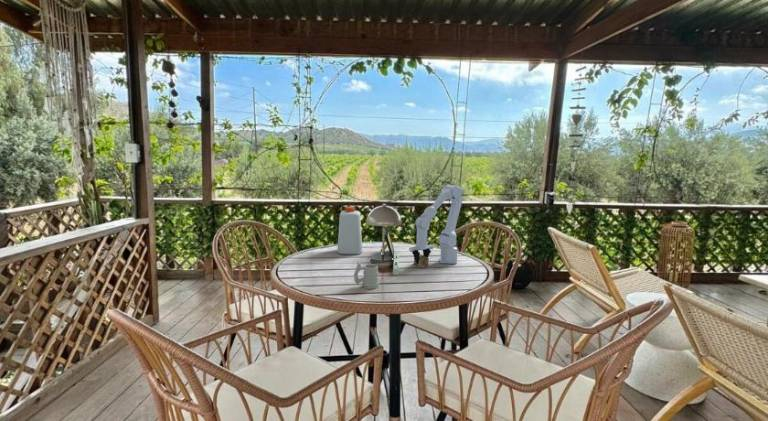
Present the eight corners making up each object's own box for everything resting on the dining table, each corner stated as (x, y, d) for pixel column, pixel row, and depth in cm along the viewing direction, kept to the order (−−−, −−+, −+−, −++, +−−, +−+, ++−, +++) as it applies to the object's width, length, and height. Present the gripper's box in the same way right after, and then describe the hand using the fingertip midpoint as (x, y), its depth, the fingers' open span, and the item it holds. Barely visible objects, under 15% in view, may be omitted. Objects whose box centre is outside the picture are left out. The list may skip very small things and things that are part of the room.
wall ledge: (398, 260, 218) (398, 252, 218) (397, 274, 193) (398, 266, 192) (394, 259, 219) (394, 252, 218) (393, 274, 193) (393, 266, 192)
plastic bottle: (362, 248, 242) (362, 205, 237) (362, 255, 227) (362, 209, 223) (338, 248, 241) (338, 205, 237) (336, 255, 226) (336, 209, 222)
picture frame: (394, 260, 217) (391, 235, 214) (378, 262, 217) (375, 236, 215) (393, 249, 239) (391, 227, 237) (379, 251, 240) (377, 228, 237)
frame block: (420, 262, 214) (420, 254, 213) (428, 266, 207) (428, 257, 206) (413, 263, 212) (413, 255, 211) (421, 267, 205) (421, 259, 204)
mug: (380, 288, 173) (380, 263, 172) (354, 290, 172) (354, 264, 170) (377, 283, 181) (378, 259, 179) (353, 284, 179) (353, 259, 177)
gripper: (428, 236, 214) (427, 259, 216) (406, 238, 207) (406, 262, 209) (435, 238, 208) (434, 262, 210) (413, 241, 201) (412, 265, 203)
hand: (421, 262), depth 209 cm, fingers closed on frame block, 5 cm apart
